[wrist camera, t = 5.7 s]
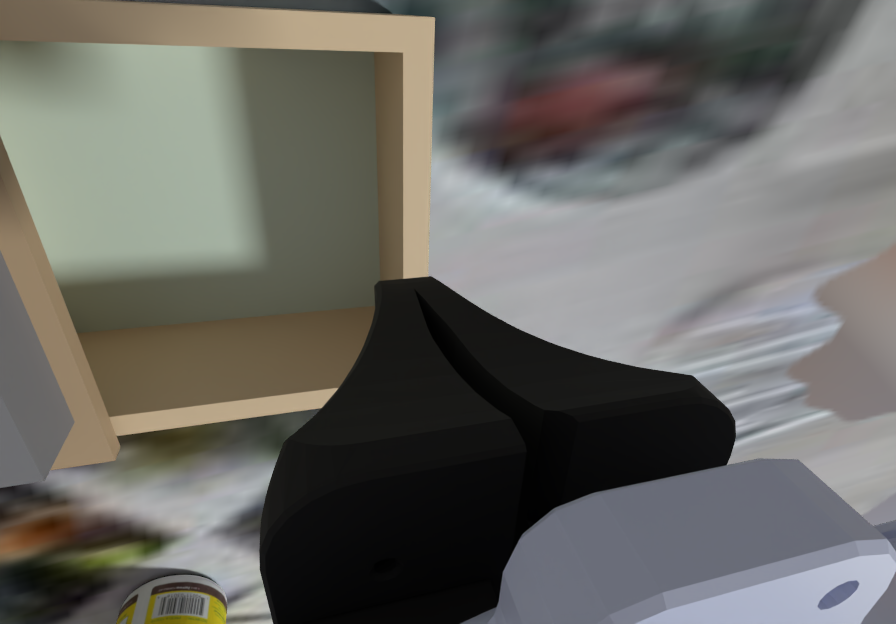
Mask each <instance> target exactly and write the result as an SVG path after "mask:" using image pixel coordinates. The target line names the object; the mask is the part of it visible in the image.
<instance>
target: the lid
mask: <svg viewBox="0 0 896 624" xmlns="http://www.w3.org/2000/svg"><path fill="white" fill-rule="evenodd" d="M119 449H120V444H119V441H118V439H117V436H116V434H115V431H114V428H113V426H112V423H111V421H110V418H109V416H108V413H107V410H106V408H105V405H104V403H103V400H102V397H101V395H100V392H99V390H98V387H97V384H96V382H95V379H94V377H93V374H92V372H91V369H90V366H89V364H88V361H87V359H86V356H85V353H84V351H83V348H82V346H81V343H80V340H79V338H78V335H77V333H76V330H75V328H74V325H73V322H72V320H71V317H70V315H69V312H68V309H67V307H66V304H65V302H64V299H63V296H62V294H61V291H60V289H59V286H58V284H57V281H56V278H55V276H54V273H53V271H52V268H51V265H50V263H49V260H48V258H47V255H46V252H45V250H44V247H43V245H42V242H41V240H40V237H39V234H38V232H37V229H36V227H35V224H34V221H33V219H32V216H31V214H30V211H29V208H28V206H27V203H26V201H25V198H24V196H23V193H22V190H21V188H20V185H19V183H18V180H17V177H16V175H15V172H14V170H13V167H12V164H11V162H10V159H9V157H8V154H7V151H6V149H5V146H4V144H3V141H2V139H1V136H0V488H2V487H9V486H15V485H22V484H29V483H35V482H42V481H45V479H46V477H47V475H48V473H49V471H50V470H56V469H62V468H69V467H76V466H83V465H90V464H96V463H103V462H110V461H115V460H116V457H117V455H118V452H119Z"/></svg>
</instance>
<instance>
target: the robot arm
mask: <svg viewBox="0 0 896 624" xmlns="http://www.w3.org/2000/svg"><path fill="white" fill-rule="evenodd" d="M374 296H375V312H374V316H373V320H372V324H371V327H370V330H369V332H368V335H367V338H366V341H365V343H364V345H363V348H362V350H361V352H360V354H359V356H358V358H357V360H356V362H355V363H354V365H353V367H352V369H351V370H350V372H349V373H348V375H347V376H346V378H345V379H344V381H343V383H342V384H341V385H340V387H339V388H338V389H337V391H336V392H335V393H334V394H333V396H332V397H331V398H330V399H329V400H328V401H327V402H326V404H325V405H324V406H323V407H322V408H321V409H320V410H319V412H318V413H317V414H316V415H315V416H314V417H313V418H312V419H311V420H310V421H308V422H307V423H306V424H305V425H304V426H303V427H301V428H300V429H299V430H298V431H297V432H296V433H294V434H293V435H292V436H290V437H289V438H288V439H287V440H286V441H285V442H284V444H283V446H282V449H281V451H280V454H279V457H278V460H277V462H276V465H275V468H274V471H273V474H272V477H271V480H270V483H269V487H268V491H267V494H266V498H265V503H264V508H263V513H262V519H261V528H260V572H261V576H262V580H263V584H264V588H265V592H266V596H267V600H268V604H269V608H270V612H271V616H272V620H273V624H896V520H894V521H890V522H886V523H882V524H879V525H875V526H872V525H871V524H870V523H869V522H868V521H867V520H865V519H864V518H863V517H862V516H861V515H860V514H859V513H858V512H856V511H855V510H854V509H853V508H852V507H851V506H850V505H849V504H847V503H846V502H845V501H844V500H843V499H842V498H841V497H840V496H839V495H837V494H836V493H835V492H834V491H833V490H832V489H831V488H830V487H828V486H827V485H826V484H825V483H824V482H823V481H822V480H821V479H819V478H818V477H817V476H816V475H815V474H814V473H813V472H812V471H810V470H809V469H808V468H807V467H806V466H805V465H804V464H803V463H801V462H800V461H799V460H794V459H754V460H749V461H744V462H740V463H735V464H730V465H727V463H728V460H729V458H730V456H731V453H732V449H733V446H734V442H735V438H736V429H735V420H734V418H733V416H732V414H731V412H730V410H729V409H728V408H727V407H726V406H725V405H724V404H723V403H722V402H721V401H720V400H718V399H717V398H716V397H715V396H714V395H713V394H712V393H711V392H710V391H709V390H708V389H707V388H705V387H704V386H703V385H702V384H701V383H700V382H699V381H698V380H697V379H696V378H695V377H694V376H692V375H685V374H679V373H672V372H665V371H659V370H652V369H646V368H640V367H635V366H630V365H626V364H621V363H617V362H612V361H608V360H604V359H600V358H596V357H593V356H589V355H586V354H582V353H579V352H576V351H573V350H570V349H567V348H564V347H561V346H558V345H555V344H553V343H550V342H547V341H545V340H542V339H540V338H538V337H535V336H533V335H531V334H528V333H526V332H524V331H521V330H519V329H517V328H515V327H513V326H511V325H509V324H507V323H506V322H504V321H502V320H500V319H498V318H496V317H495V316H493V315H491V314H489V313H488V312H486V311H484V310H482V309H481V308H479V307H478V306H476V305H474V304H473V303H471V302H470V301H468V300H467V299H465V298H464V297H462V296H461V295H459V294H458V293H456V292H455V291H453V290H452V289H450V288H449V287H447V286H446V285H444V284H443V283H441V282H440V281H438V280H436V279H435V278H433V277H431V276H429V277H417V278H406V279H395V280H383V281H378V282H377V283H376V284H375V285H374Z"/></svg>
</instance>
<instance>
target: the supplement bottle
mask: <svg viewBox="0 0 896 624" xmlns="http://www.w3.org/2000/svg"><path fill="white" fill-rule="evenodd" d="M226 614H227V599H226V595H225V593H224V591H223V589H222V588H221V587H220V586H219V585H218V584H216V583H215V582H213V581H212V580H209V579H207V578H204V577H200V576H195V575H173V576H167V577H163V578H159V579H156V580H153V581H151V582H148V583H146V584H144V585H142V586H141V587H139V588H138V589H136V590H135V591H134V592H132V593H131V594H130V595H129V596H128V598H127V599H126V600H125V602H124V603H123V605H122V607H121V609H120V612H119V615H118V619H117V623H116V624H226Z"/></svg>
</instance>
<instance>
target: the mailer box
mask: <svg viewBox="0 0 896 624" xmlns="http://www.w3.org/2000/svg"><path fill="white" fill-rule="evenodd" d="M434 33H435V18H434V17H423V16H411V15H400V14H384V13H363V12H343V11H322V10H302V9H281V8H261V7H240V6H220V5H199V4H179V3H158V2H138V1H117V0H0V136H1V139H2V141H3V144H4V146H5V149H6V151H7V154H8V157H9V159H10V162H11V164H12V167H13V170H14V172H15V175H16V177H17V180H18V183H19V185H20V188H21V190H22V193H23V196H24V198H25V201H26V203H27V206H28V208H29V211H30V214H31V216H32V219H33V221H34V224H35V227H36V229H37V232H38V234H39V237H40V240H41V242H42V245H43V247H44V250H45V252H46V255H47V258H48V260H49V263H50V265H51V268H52V271H53V273H54V276H55V278H56V281H57V284H58V286H59V289H60V291H61V294H62V296H63V299H64V302H65V304H66V307H67V309H68V312H69V315H70V317H71V320H72V322H73V325H74V328H75V330H76V333H77V335H78V338H79V340H80V343H81V346H82V348H83V351H84V353H85V356H86V359H87V361H88V364H89V366H90V369H91V372H92V374H93V377H94V379H95V382H96V384H97V387H98V390H99V392H100V395H101V397H102V400H103V403H104V405H105V408H106V410H107V413H108V416H109V418H110V421H111V423H112V426H113V428H114V431H115V434H116V436H121V435H128V434H136V433H143V432H150V431H158V430H165V429H172V428H179V427H187V426H194V425H201V424H209V423H216V422H223V421H230V420H238V419H245V418H252V417H260V416H267V415H274V414H282V413H289V412H296V411H303V410H311V409H318V408H322V407H323V406H324V405H325V404H326V402H327V401H328V400H329V399H330V398H331V397H332V396H333V394H334V393H335V392H336V391H337V389H338V388H339V387H340V385H341V384H342V383H343V381H344V379H345V378H346V376H347V375H348V373H349V372H350V370H351V369H352V367H353V365H354V363H355V362H356V360H357V358H358V356H359V354H360V352H361V350H362V348H363V345H364V343H365V341H366V338H367V335H368V332H369V330H370V327H371V324H372V320H373V316H374V312H375V296H374V285H375V284H376V283H377V282H378V281H383V280H395V279H406V278H417V277H428V259H429V221H430V183H431V146H432V108H433V70H434Z"/></svg>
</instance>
